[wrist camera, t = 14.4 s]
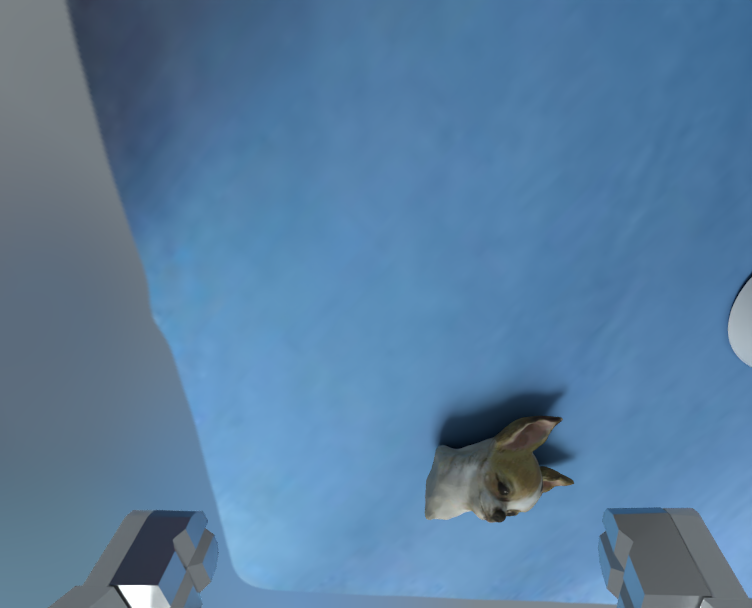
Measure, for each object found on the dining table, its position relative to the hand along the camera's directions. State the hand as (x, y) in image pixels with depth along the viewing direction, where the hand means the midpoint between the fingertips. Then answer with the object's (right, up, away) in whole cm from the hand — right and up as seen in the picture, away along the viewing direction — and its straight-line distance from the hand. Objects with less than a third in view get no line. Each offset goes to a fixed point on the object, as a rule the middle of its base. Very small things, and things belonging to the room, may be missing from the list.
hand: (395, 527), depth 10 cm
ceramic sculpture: (+12, -11, +41) cm, 44 cm away
